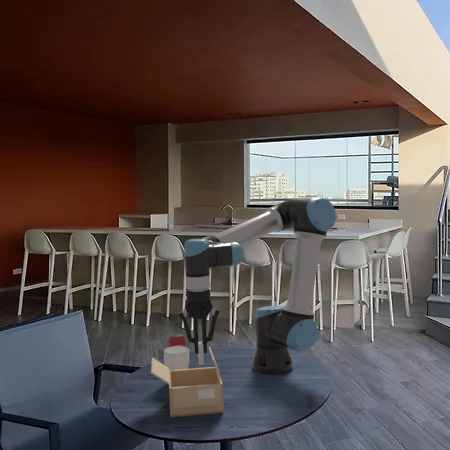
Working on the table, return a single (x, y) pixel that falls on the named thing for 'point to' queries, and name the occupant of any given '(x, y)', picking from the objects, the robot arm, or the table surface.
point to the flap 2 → (215, 362)
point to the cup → (176, 357)
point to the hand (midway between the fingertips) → (201, 363)
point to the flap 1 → (160, 371)
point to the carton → (195, 392)
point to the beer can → (177, 340)
